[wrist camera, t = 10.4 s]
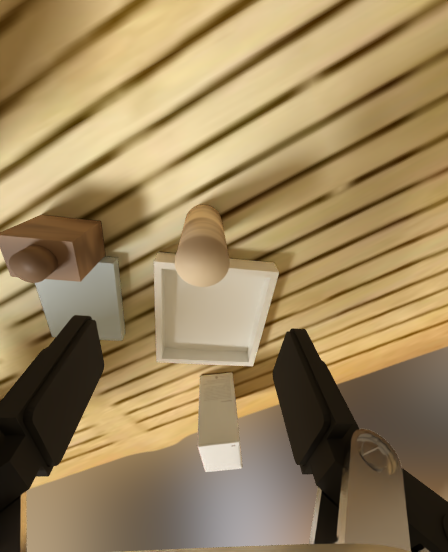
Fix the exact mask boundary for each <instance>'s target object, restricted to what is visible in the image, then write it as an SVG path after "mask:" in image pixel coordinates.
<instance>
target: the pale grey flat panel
mask: <svg viewBox="0 0 448 552" xmlns="http://www.w3.org/2000/svg"><path fill="white" fill-rule="evenodd" d="M35 285H36V288H37V291H38V294H39V297H40V301H41V304H42V307H43V310H44V313H45V316H46V319H47V323H48V326H49V329H50V332H51V335H52V337H57V335H58V334H59V333H60V332H61V330H62V329H63V328H64V327H65V325H66V324H67V323H68V321H69V320H70V319H71V318H72V317H73V316H74V315H82V316H91V317H92V320H95V321H96V324H97V329H98V334H99V339H100V340H115V341H122V340H123V338H124V336H125V323H124V313H123V303H122V293H121V284H120V274H119V264H118V258H113V257H103V258H102V259H101V260H100V261H99V262H98V264H97V265H96V266H95V267H94V268H93V269H92V270H91V271H90V272H89V273H88V274H87V275H86V276H85V278H84V279H83V280H82V281H81V282H77V281H64V280H51V279H44V280H43V281H41V282H38V283H35Z"/></svg>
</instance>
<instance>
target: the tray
mask: <svg viewBox="0 0 448 552" xmlns="http://www.w3.org/2000/svg"><path fill="white" fill-rule="evenodd" d="M175 256H176V253H166V252H158V253H157V255H156V257H155V260H154V293H155V330H156V362H163V363H187V364H210V365H233V366H253V365H254V361H255V357H256V354H257V350H258V347H259V343H260V340H261V336H262V332H263V329H264V325H265V322H266V318H267V315H268V311H269V307H270V304H271V300H272V297H273V293H274V290H275V286H276V282H277V279H278V275H279V271H278V269H277V267H276V265H275V263H274V262H263V261H252V260H241V259H230V258H229V261H230V264H229V270H228V272H227V274H226V276H225V277H224V278H223V279H222V280H221V281H220V282H218V283H216V284H214V285H212V286H208V287H197V286H193V285H191V284H188V283H187V282H185V281H184V280H183V279H182V278H181V277H180V276H179V275H178V273H177V271H176V268H175Z"/></svg>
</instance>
